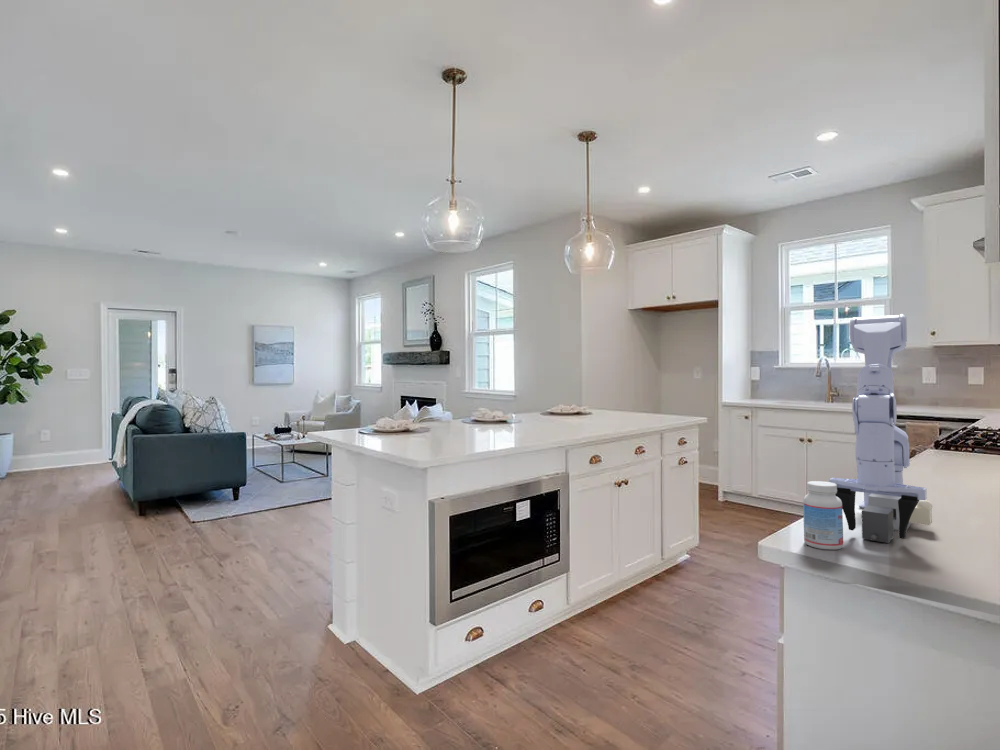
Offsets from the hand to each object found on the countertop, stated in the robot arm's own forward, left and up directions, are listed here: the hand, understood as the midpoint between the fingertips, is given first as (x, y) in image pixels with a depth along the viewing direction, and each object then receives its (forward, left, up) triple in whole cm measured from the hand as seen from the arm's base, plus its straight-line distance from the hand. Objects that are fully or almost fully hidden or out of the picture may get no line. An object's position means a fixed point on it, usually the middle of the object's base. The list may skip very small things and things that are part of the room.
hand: (876, 533), depth 98 cm
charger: (-1, 0, -1) cm, 2 cm away
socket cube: (-13, 0, -1) cm, 13 cm away
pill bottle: (+9, -6, -2) cm, 11 cm away
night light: (-13, +5, 0) cm, 14 cm away
